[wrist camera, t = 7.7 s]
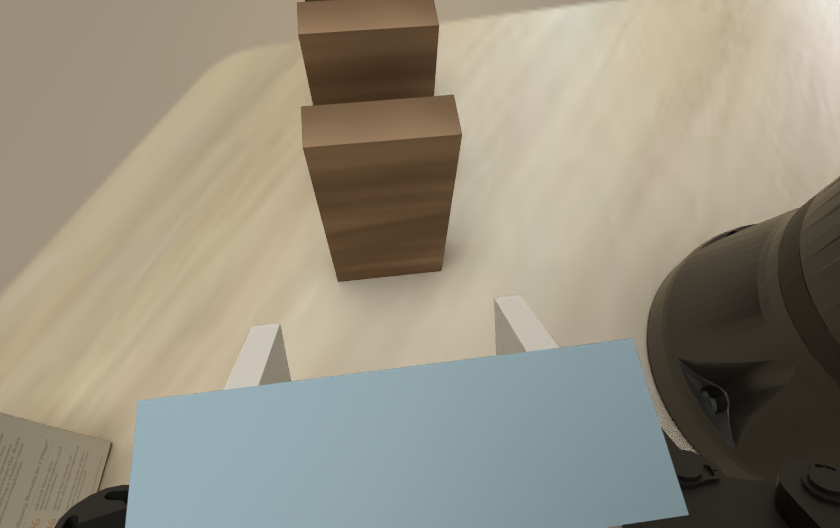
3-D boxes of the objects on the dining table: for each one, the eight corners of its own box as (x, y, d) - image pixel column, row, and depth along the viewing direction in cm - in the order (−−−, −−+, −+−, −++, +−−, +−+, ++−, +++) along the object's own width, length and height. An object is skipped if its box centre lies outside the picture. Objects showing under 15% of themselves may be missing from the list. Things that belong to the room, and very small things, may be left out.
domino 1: (427, 186, 33) (439, 25, 23) (332, 194, 33) (298, 34, 22) (423, 160, 34) (432, -6, 24) (330, 168, 34) (297, 2, 23)
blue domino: (508, 518, 16) (689, 515, 6) (316, 546, 16) (117, 600, 5) (496, 451, 17) (631, 338, 7) (313, 476, 17) (138, 400, 6)
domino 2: (441, 270, 31) (462, 134, 20) (338, 281, 30) (302, 147, 20) (436, 241, 32) (453, 94, 21) (335, 250, 31) (301, 106, 20)
